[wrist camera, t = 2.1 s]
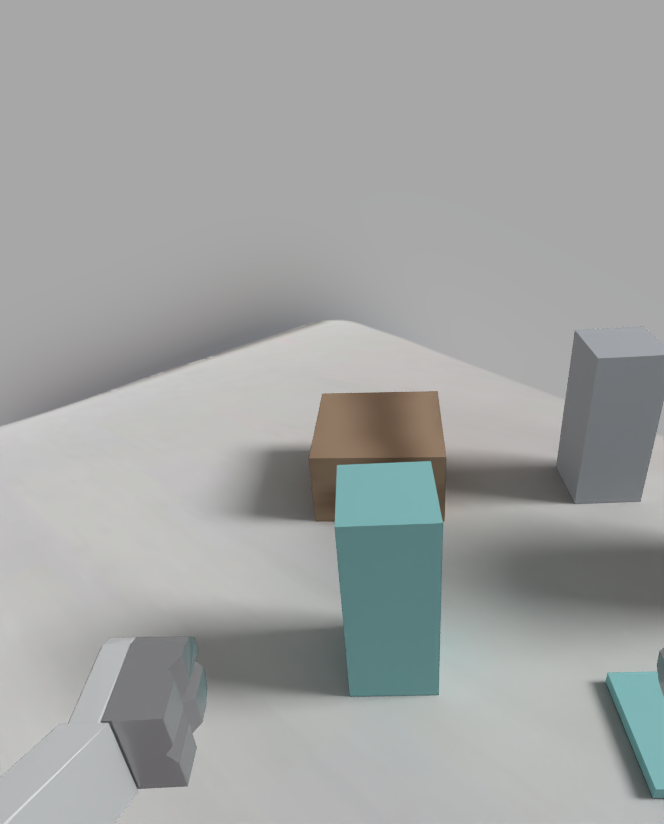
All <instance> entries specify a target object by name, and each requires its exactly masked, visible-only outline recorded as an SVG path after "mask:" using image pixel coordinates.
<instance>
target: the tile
mask: <svg viewBox="0 0 664 824" xmlns="http://www.w3.org/2000/svg"><path fill="white" fill-rule="evenodd" d="M606 684H607V686H608V689H609V691H610V694H611V696H612V699H613V701H614V703H615V706H616V708H617V711H618V713H619V716H620V718H621V721H622V723H623V726H624V728H625V731H626V733H627V736H628V738H629V740H630V743H631V745H632V748H633V750H634V753H635V755H636V758H637V760H638V763H639V765H640V768H641V770H642V773H643V775H644V777H645V780H646V782H647V785H648V787H649V790H650V792H651V795H652V797H653V798H664V696H663V693H662V690H661V687H660V684H659V680H658V672H615V673H607V677H606Z"/></svg>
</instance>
